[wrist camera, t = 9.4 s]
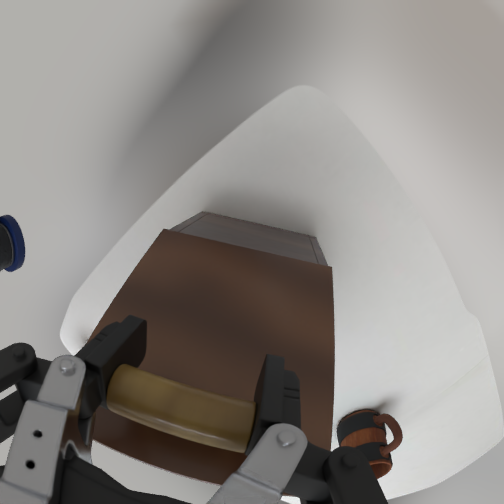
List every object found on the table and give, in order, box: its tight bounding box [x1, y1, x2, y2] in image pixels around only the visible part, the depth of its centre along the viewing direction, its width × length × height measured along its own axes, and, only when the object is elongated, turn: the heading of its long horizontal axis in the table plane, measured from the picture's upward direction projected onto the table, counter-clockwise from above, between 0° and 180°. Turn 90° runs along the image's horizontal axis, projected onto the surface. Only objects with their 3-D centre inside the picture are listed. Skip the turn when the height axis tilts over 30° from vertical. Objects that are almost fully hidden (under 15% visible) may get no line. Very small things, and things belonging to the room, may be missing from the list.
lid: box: [86, 229, 335, 497], centre depth 14 cm, size 17×14×5 cm
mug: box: [337, 410, 403, 479], centre depth 35 cm, size 9×12×12 cm
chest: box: [170, 212, 328, 266], centre depth 30 cm, size 16×14×11 cm
